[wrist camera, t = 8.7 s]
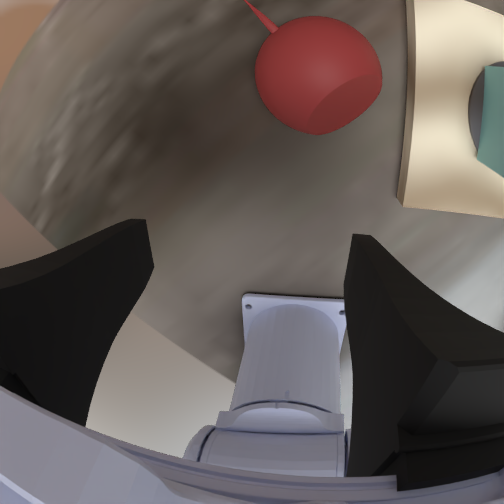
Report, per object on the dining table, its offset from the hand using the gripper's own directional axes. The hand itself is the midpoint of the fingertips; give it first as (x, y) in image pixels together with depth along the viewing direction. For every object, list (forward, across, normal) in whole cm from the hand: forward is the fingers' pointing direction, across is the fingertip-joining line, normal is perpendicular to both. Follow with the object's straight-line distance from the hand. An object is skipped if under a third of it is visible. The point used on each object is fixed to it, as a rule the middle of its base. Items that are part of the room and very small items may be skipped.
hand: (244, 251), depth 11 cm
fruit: (+10, -2, -7) cm, 12 cm away
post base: (+9, -15, -6) cm, 18 cm away
